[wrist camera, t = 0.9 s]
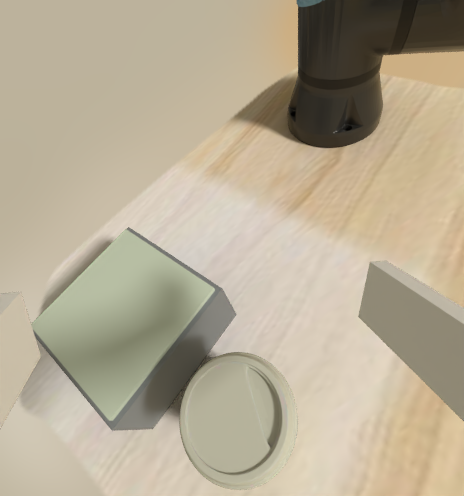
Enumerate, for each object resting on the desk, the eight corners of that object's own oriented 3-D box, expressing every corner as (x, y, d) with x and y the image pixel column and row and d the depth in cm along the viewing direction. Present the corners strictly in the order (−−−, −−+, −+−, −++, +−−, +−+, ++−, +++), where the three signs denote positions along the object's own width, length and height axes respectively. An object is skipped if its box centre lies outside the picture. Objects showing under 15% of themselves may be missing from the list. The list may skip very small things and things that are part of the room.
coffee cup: (288, 484, 26) (283, 522, 16) (203, 450, 29) (152, 465, 19) (304, 384, 30) (307, 364, 20) (227, 362, 33) (195, 335, 22)
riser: (155, 258, 42) (126, 224, 35) (236, 314, 35) (220, 286, 28) (76, 345, 37) (23, 326, 30) (152, 428, 30) (108, 430, 23)
